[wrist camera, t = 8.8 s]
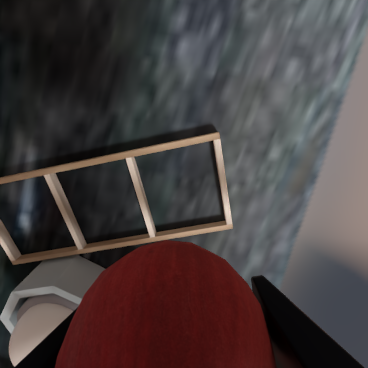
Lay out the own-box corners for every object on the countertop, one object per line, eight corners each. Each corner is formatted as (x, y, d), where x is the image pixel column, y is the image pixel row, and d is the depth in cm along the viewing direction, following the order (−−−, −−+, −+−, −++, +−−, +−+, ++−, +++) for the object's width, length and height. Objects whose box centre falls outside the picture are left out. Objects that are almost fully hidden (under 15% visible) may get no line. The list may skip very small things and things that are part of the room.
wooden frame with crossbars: (231, 224, 19) (232, 228, 18) (19, 259, 21) (13, 264, 20) (217, 131, 16) (219, 132, 16) (-27, 182, 18) (-36, 185, 17)
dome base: (170, 309, 23) (166, 352, 19) (55, 324, 24) (28, 368, 20) (149, 242, 20) (139, 276, 16) (19, 264, 21) (-23, 301, 17)
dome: (112, 321, 22) (85, 392, 16) (53, 328, 23) (8, 400, 17) (88, 271, 20) (49, 334, 14) (24, 281, 20) (-40, 346, 15)
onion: (120, 300, 10) (-63, 806, 3) (109, 200, 8) (-597, 982, 1) (230, 304, 10) (349, 828, 3) (245, 205, 8) (789, 1061, 1)
